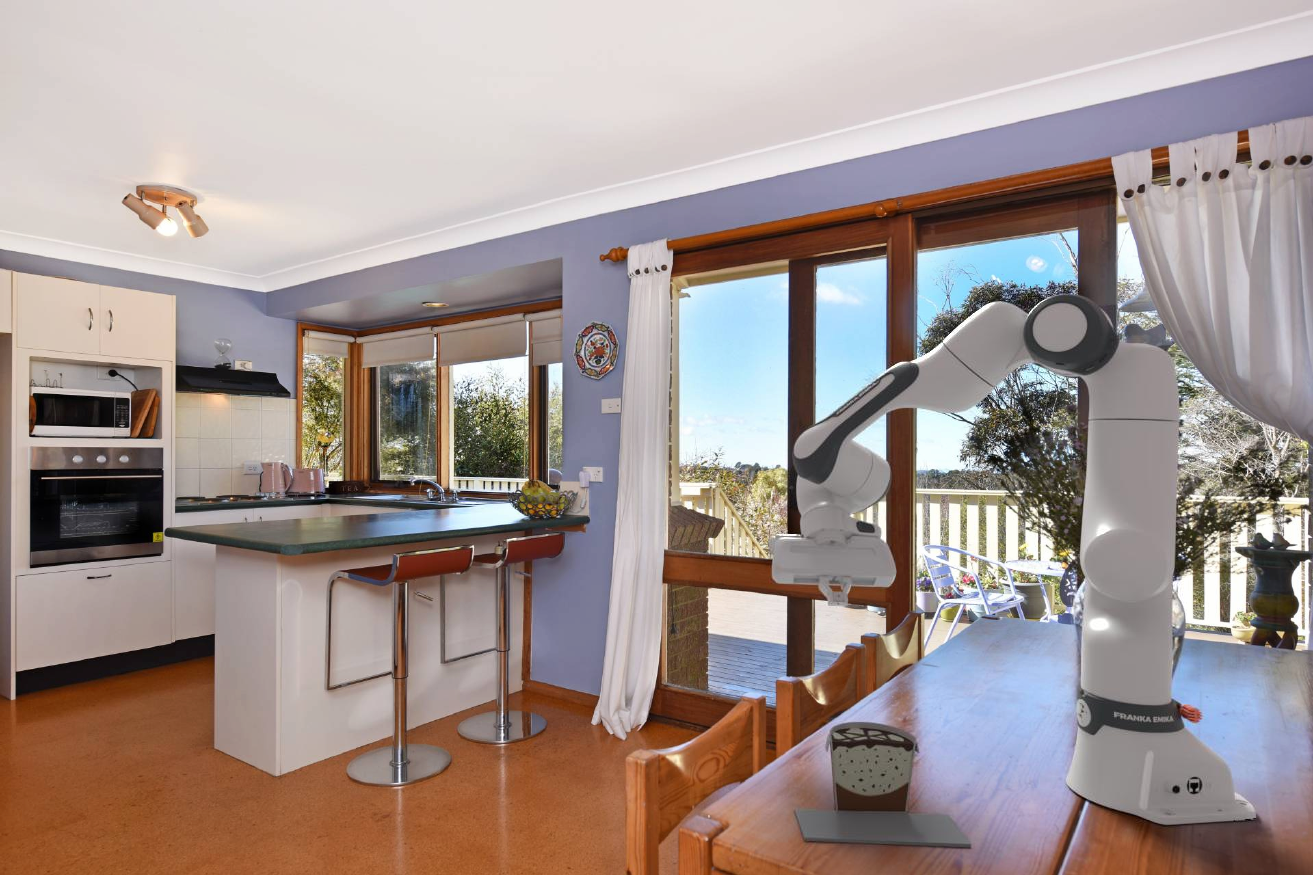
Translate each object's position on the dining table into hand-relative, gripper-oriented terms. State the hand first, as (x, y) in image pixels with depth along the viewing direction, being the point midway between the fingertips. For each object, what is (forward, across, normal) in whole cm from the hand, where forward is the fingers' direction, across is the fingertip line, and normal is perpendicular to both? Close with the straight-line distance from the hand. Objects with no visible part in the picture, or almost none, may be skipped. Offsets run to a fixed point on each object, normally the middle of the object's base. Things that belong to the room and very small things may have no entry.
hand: (838, 603), depth 123 cm
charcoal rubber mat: (+35, 0, -2) cm, 35 cm away
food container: (+30, 0, +3) cm, 30 cm away
